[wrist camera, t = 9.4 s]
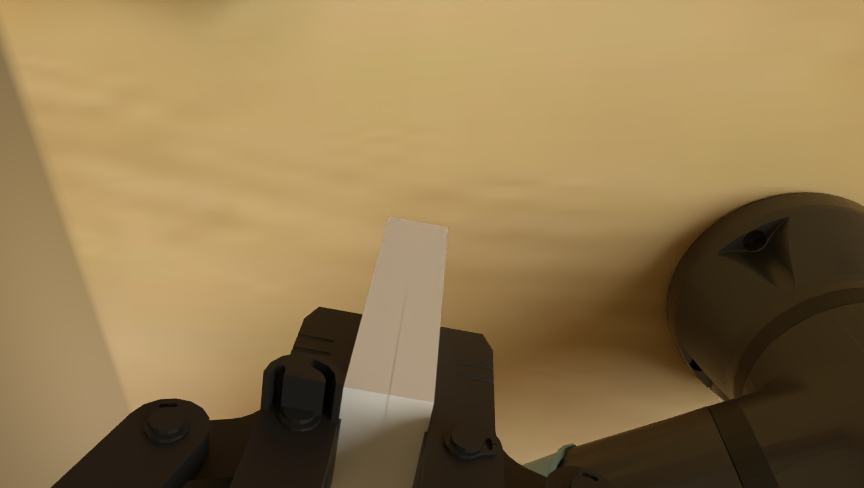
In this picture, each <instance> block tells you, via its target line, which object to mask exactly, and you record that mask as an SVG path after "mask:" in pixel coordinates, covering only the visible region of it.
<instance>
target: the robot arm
mask: <svg viewBox="0 0 864 488" xmlns="http://www.w3.org/2000/svg"><path fill="white" fill-rule="evenodd" d="M447 239H448V227H445V226H440V225H434V224H429V223H423V222H418V221H412V220H407V219H401V218H396V217H390V216H388V220H387V224H386V227H385V231H384V235H383V239H382V243H381V246H380V250H379V254H378V258H377V262H376V265H375V269H374V273H373V277H372V281H371V284H370V288H369V292H368V296H367V300H366V304H365V307H364V311H363V314H357V313H351V312H346V311H340V310H335V309H329V308H323V307H318V308H317V309H316V310H314V311H313V312H312V313H311V314H309V315H308V316H307V317H306V318H304V321H303V323H302V326H301V328H300V331H299V333H298V337H297V338H296V341H295V343H294V346H293V350H292V351H291V354H290V355H286V356H282V357H280V358H278V359H276V360H274V361H272V362H271V363H270V364H269V365H268V366H267V368H266V369H265V370H264V373H263V386H262V398H261V410H259V411H257V412H255V413H253V414H250V415H247V416H244V417H241V418H234V419H224V420H209V417H208V415H207V414H206V412H205V411H204V409H203V408H201V407H200V406H198V405H196V404H194V403H193V402H191V401H186V400H181V399H160V400H156V401H153V402H150V403H147V404H144V405H142V406H141V407H139V408H138V409H136V410H135V411H133V412H132V413H130V414H129V415H128V416H127V417H126V418H125V419H124V420H123V421H122V422H121V423H120V424H119V425H118V426H116V427H115V428H114V429H113V430H112V431H111V432H110V433H109V434H108V435H107V436H106V437H105V438H104V439H103V440H101V441H100V442H99V443H98V444H97V445H96V446H95V447H94V448H93V449H92V450H91V451H90V452H89V453H87V454H86V455H85V456H84V457H83V458H82V459H81V460H80V461H79V462H78V463H77V464H76V465H75V466H74V467H72V469H70V470H69V471H68V472H67V473H66V474H65V475H64V476H63V477H62V478H61V479H60V480H59V481H58V482H56V483H55V484H54V485H53V486H52V487H51V488H864V206H862V205H860V204H858V203H856V202H853V201H851V200H848V199H845V198H842V197H838V196H834V195H828V194H820V193H794V194H786V195H780V196H775V197H771V198H767V199H764V200H760V201H757V202H755V203H752V204H749V205H747V206H745V207H742V208H740V209H738V210H736V211H734V212H733V213H731V214H729V215H727V216H726V217H724V218H722V219H721V220H720V221H718V222H717V223H715V224H714V225H713V226H711V227H710V228H709V229H708V230H707V231H705V232H704V233H703V234H702V235H701V236H700V237H699V238H698V239H697V240H696V241H695V242H694V243H693V245H692V246H691V247H690V248H689V249H688V251H687V252H686V253H685V255H684V256H683V258H682V259H681V261H680V263H679V265H678V266H677V268H676V270H675V273H674V275H673V277H672V280H671V283H670V287H669V291H668V297H667V319H668V324H669V328H670V331H671V334H672V336H673V339H674V341H675V343H676V345H677V348H678V350H679V352H680V355H681V356H682V358H683V360H684V362H685V363H686V365H687V366H688V367H689V369H690V370H691V371H692V373H693V374H694V375H695V376H696V377H697V378H698V379H699V380H700V381H701V382H702V383H704V384H705V385H706V386H707V387H709V388H710V389H711V390H712V391H713V392H714V393H716V394H717V395H718V396H719V397H720V398H721V399H723V400H724V402H721V403H718V404H715V405H711V406H706V407H703V408H700V409H697V410H694V411H691V412H688V413H684V414H681V415H678V416H675V417H672V418H669V419H666V420H662V421H659V422H656V423H652V424H649V425H646V426H642V427H639V428H636V429H632V430H629V431H626V432H622V433H619V434H616V435H612V436H609V437H606V438H602V439H599V440H596V441H592V442H589V443H586V444H582V445H579V446H576V445H574V444H569V445H565V446H563V447H561V448H560V449H559V450H558V451H557V452H556V453H554V454H551V455H549V456H546V457H543V458H541V459H538V460H535V461H532V462H530V463H527V464H524V465H520V464H518V463H517V462H515V461H514V460H513V459H512V458H510V457H509V456H508V455H507V454H506V453H505V451H504V450H503V449H502V445H501V442H500V440H499V439H498V437H497V436H496V432H495V408H494V383H493V380H494V377H493V350H492V349H491V347H490V345H489V344H488V342H487V341H486V339H485V337H484V336H483V334H478V333H473V332H467V331H461V330H456V329H450V328H445V327H440V323H441V311H442V299H443V287H444V275H445V263H446V251H447Z"/></svg>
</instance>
